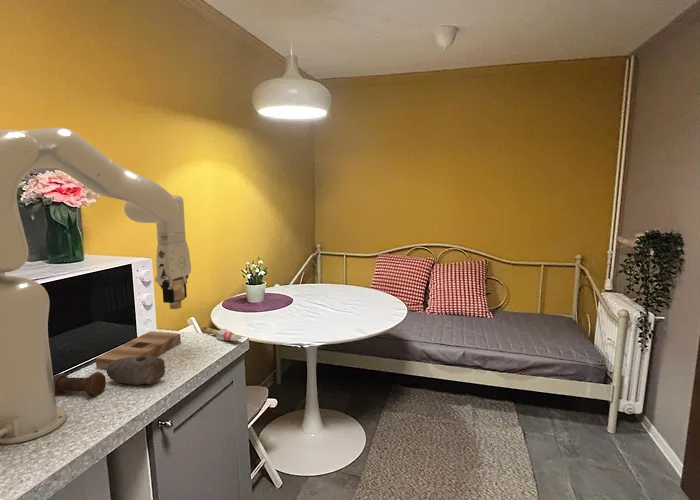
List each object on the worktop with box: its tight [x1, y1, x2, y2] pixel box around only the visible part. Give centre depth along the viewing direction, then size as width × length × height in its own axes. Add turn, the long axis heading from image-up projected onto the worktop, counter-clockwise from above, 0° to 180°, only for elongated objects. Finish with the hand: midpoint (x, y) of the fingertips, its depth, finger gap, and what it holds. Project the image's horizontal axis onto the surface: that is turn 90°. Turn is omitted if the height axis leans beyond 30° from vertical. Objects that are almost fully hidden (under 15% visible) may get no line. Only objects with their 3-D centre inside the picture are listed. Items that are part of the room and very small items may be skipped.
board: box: [95, 330, 182, 371], centre depth 126 cm, size 22×11×3 cm, turn 167°
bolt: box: [53, 371, 107, 398], centre depth 103 cm, size 6×5×15 cm
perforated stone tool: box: [106, 356, 166, 386], centre depth 108 cm, size 15×5×7 cm, turn 81°
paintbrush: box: [200, 326, 243, 342], centre depth 140 cm, size 4×3×20 cm
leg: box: [166, 278, 186, 310], centre depth 125 cm, size 5×5×8 cm
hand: (175, 299), depth 125 cm, fingers closed on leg, 5 cm apart
